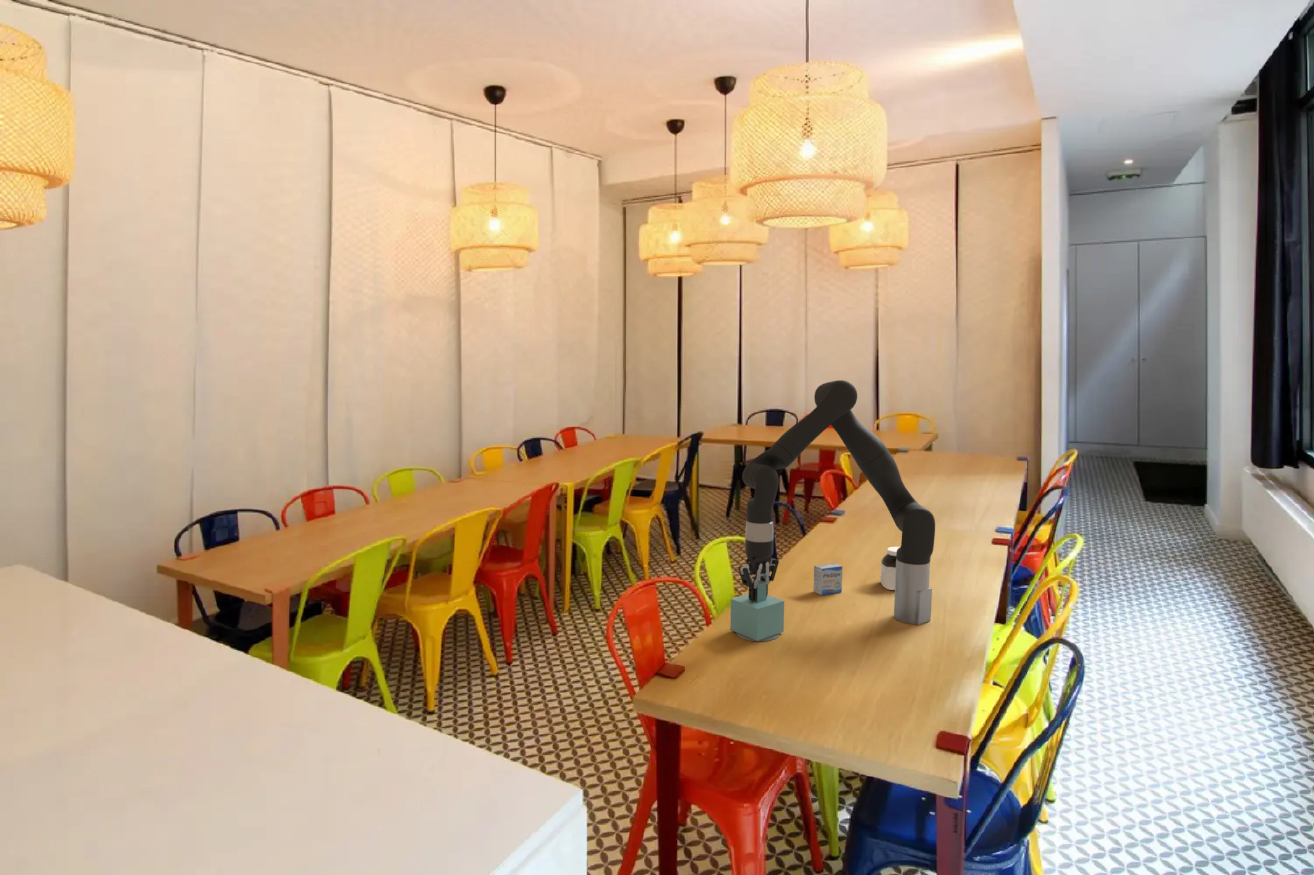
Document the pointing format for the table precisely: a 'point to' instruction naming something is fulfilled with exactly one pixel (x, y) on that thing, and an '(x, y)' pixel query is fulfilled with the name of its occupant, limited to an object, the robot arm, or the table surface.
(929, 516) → the robot arm
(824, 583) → the medicine box
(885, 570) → the spread jar
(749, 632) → the teal cube with peg
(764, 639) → the spot
